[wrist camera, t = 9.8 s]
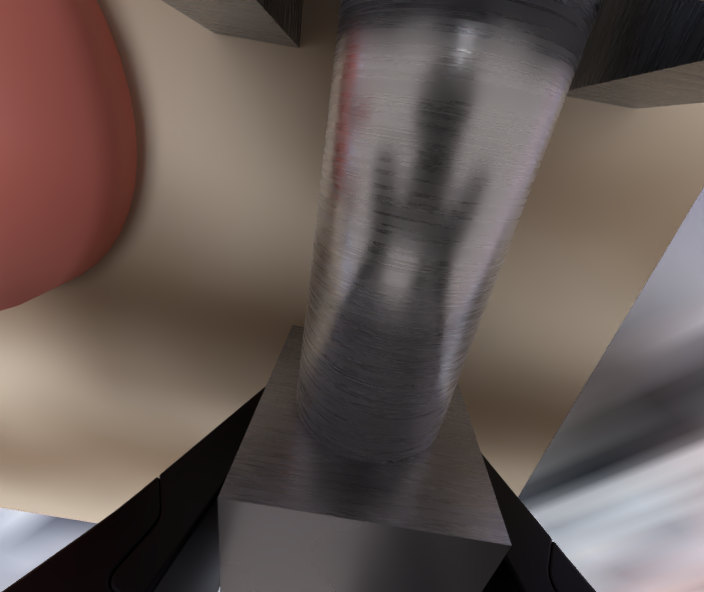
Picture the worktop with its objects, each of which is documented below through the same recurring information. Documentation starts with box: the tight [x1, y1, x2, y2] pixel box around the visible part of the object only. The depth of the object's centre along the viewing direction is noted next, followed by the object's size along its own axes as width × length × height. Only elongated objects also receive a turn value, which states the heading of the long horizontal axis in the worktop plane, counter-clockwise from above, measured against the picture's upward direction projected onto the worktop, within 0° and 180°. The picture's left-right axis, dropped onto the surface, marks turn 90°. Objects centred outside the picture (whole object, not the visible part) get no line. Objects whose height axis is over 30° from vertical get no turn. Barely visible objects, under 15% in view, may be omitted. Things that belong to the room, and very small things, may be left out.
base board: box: [0, 0, 704, 523], centre depth 10 cm, size 20×20×1 cm
